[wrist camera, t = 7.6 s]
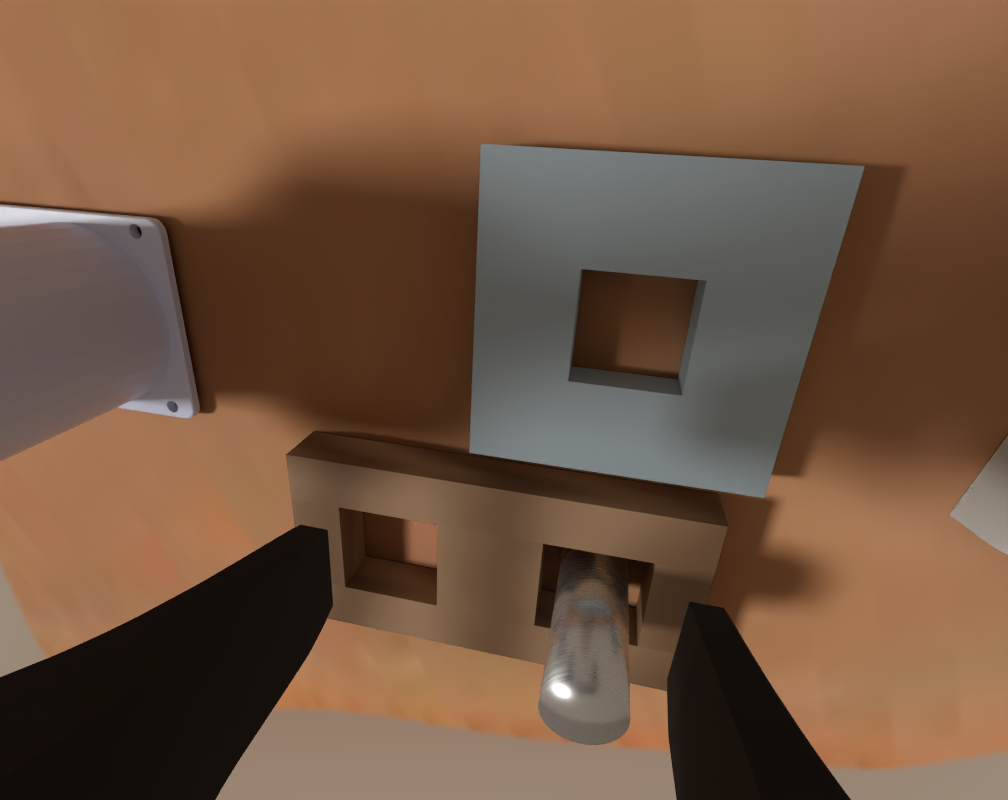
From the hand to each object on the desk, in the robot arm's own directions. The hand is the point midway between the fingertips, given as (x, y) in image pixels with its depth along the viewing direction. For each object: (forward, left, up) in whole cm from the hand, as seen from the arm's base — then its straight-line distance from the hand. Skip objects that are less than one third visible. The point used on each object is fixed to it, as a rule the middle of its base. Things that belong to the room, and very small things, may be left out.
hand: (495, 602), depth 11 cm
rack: (-2, -7, -10) cm, 12 cm away
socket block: (+2, +3, -10) cm, 11 cm away
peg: (+2, -6, -10) cm, 12 cm away
